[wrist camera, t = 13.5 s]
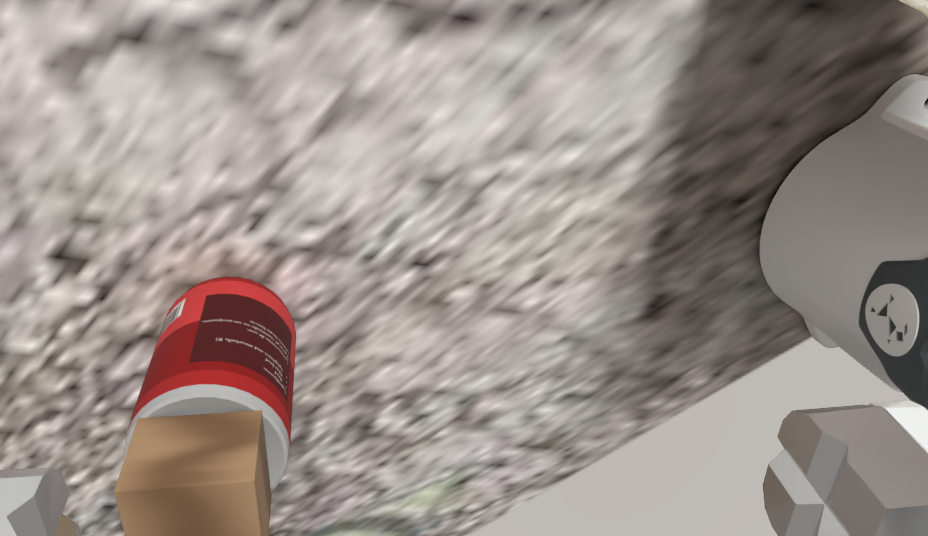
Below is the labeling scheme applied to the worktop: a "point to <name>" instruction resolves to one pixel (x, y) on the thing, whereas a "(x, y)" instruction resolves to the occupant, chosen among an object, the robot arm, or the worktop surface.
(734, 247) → the worktop surface
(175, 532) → the walnut block
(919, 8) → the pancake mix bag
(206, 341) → the canned food
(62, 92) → the worktop surface
